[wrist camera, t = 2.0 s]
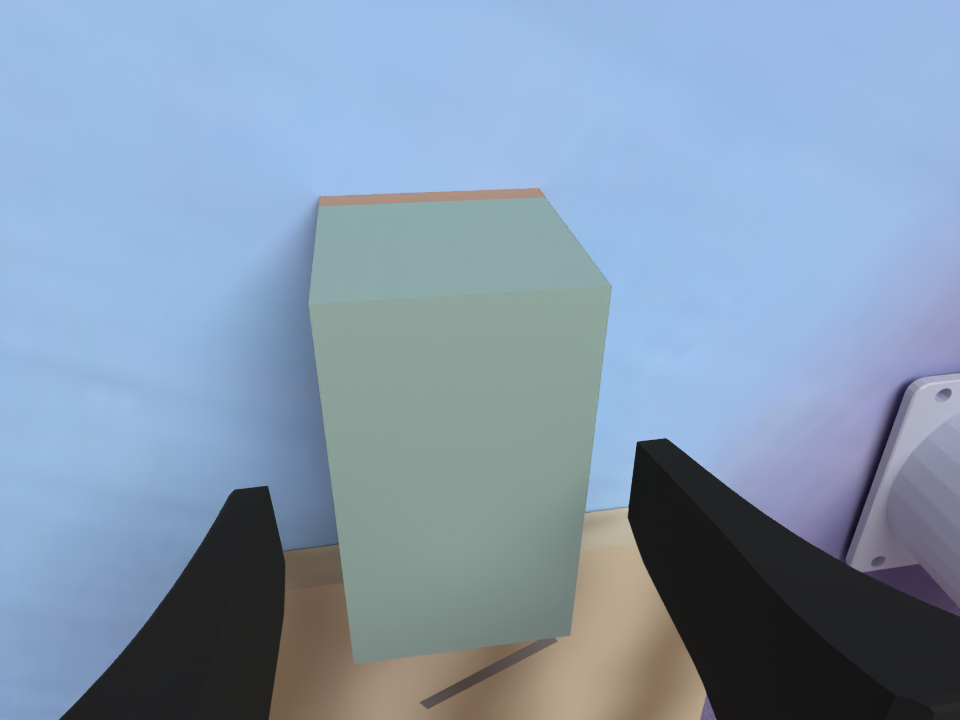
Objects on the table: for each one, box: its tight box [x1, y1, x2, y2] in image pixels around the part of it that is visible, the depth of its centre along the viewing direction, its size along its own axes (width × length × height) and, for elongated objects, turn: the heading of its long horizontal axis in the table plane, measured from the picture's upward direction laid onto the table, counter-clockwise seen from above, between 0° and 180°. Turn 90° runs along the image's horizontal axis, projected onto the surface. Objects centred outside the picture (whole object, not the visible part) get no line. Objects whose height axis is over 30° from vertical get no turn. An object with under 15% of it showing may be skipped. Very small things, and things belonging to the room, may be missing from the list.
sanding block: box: [308, 188, 612, 664], centre depth 16 cm, size 5×9×6 cm, turn 179°
